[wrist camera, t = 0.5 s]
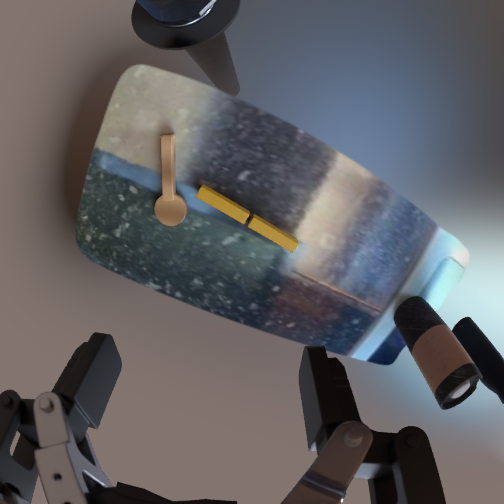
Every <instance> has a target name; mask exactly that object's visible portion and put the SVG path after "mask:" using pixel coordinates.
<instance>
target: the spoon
mask: <svg viewBox="0 0 504 504" xmlns="http://www.w3.org/2000/svg"><path fill="white" fill-rule="evenodd" d="M161 168H162V192H163V195H162V196H160V197H159V198H158V199H157V201H156V203H155V207H154V210H155V215H156V217H157V218H158V220H159V221H160V222H161V223H163V224H165V225H168V226H174V225H177V224H179V223H181V222H182V221H183V219H184V218H185V217H186V214H187V210H188V208H187V203H186V201H185V199H184V198H183V197H182V196H181V195H179V194H177V193H176V179H175V135H161Z"/></svg>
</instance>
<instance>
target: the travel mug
mask: <svg viewBox="0 0 504 504" xmlns="http://www.w3.org/2000/svg"><path fill="white" fill-rule="evenodd" d="M394 322H395V324H396V326H397V328H398V330H399V332H400V334H401V336H402V337H403V339H404V341H405V343H406V345H407V347H408V348H409V351H410V352H411V354H412V356H413V358H414V360H415V362H416V363H417V365H418V367H419V369H420V370H421V372H422V374H423V376H424V378H425V379H426V381H427V383H428V385H429V387H430V389H431V390H432V392H433V394H434V396H435V398H436V400H437V402H438V404H439V406H440V407H441V409H443V410H445V409H450V408H452V407H454V406H456V405H458V404H460V403H461V402H463V401H464V400H465V399H467V398H468V397H469V396H470V395H471V394H472V393H473V392H474V391H475V389H476V385H477V382H478V381H479V379H480V378H482V375H481V373H480V371H479V370H478V368H477V367H476V365H475V364H474V362H473V361H472V359H471V358H470V356H469V355H468V353H467V352H466V351H465V349H464V348H463V346H462V345H461V343H460V342H459V341H458V339H457V338H456V337H455V335H454V334H453V332H452V331H451V330H450V328H449V327H448V326H447V325H446V323H445V322H444V321H443V320H442V319H441V318H440V317H439V315H438V314H437V313H436V312H435V311H434V310H433V308H432V307H431V306H430V305H429V304H428V303H427V302H426V301H425V300H424V299H423V298H422V297H418V296H416V297H412V298H409V299H407V300H406V301H404V302H403V303H402V304H401V305H400V306H399V308H398V309H397V311H396V313H395V316H394Z"/></svg>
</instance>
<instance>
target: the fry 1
mask: <svg viewBox="0 0 504 504" xmlns="http://www.w3.org/2000/svg"><path fill="white" fill-rule="evenodd" d="M196 197H197V198H199V199H201V200H202V201H204V202H206V203H208V204H209V205H211V206H213V207H215V208H216V209H218V210H220V211H222V212H223V213H225V214H227V215H229V216H230V217H232V218H234V219H236V220H237V221H239V222H241V223H242V224H244V223H245V221H246V220H247V218H248V216H249V215H250V211H248V210H247V209H245V208H243V207H241V206H240V205H238V204H236V203H235V202H233V201H231V200H229V199H228V198H226V197H224V196H223V195H221V194H219V193H217V192H216V191H214V190H212V189H210V188H209V187H207V186H205V185H202V186H201V188H200V189H199V191H198V193H197V195H196Z"/></svg>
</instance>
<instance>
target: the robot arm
mask: <svg viewBox="0 0 504 504" xmlns="http://www.w3.org/2000/svg"><path fill="white" fill-rule="evenodd" d="M136 1H137V2H138V3H139V4H140V5H141V6H142V7H143V8H144V9H145V10H146V11H147V12H148V13H149V14H150V15H151V16H152V17H153V19H154V20H155V21H156V22H157V23H158V24H160V25H162V26H164V27H167V28H184V27H188V26H191V25H194V24H196V23H198V22H200V21H201V20H203V19H204V18H205V17H207V16H208V15H209V14H210V12H211V11H212V10H213V8H214V6H215V3H216V0H136ZM121 366H122V362H121V358H120V355H119V353H118V350H117V348H116V345H115V342H114V340H113V337H112V336H111V335H110V334H103V333H97V332H95V333H93V335H92V336H91V338H90V339H89V341H88V342H84V343H83V344H82V345H81V346H79V347H78V348H77V349H76V350H75V352H74V354H73V355H72V357H71V359H70V360H69V362H68V364H67V366H66V367H65V369H64V370H63V372H62V374H61V376H60V377H59V379H58V381H57V383H56V384H55V386H54V388H53V390H52V391H51V392H44V393H42V394H40V395H39V396H38V397H37V398H36V399H21V398H20V396H19V395H18V394H17V392H15V391H13V390H6V391H4V392H2V393H1V394H0V504H31V501H32V496H33V492H34V489H35V485H36V481H37V478H38V474H39V476H40V480H41V483H42V487H43V490H44V493H45V496H46V499H47V502H48V504H237V501H224V500H223V501H222V500H210V499H201V500H190V501H171V500H168V499H166V498H163V497H161V496H159V495H157V494H154V493H152V492H150V491H148V490H146V489H143V488H139V487H135V486H131V485H127V484H124V483H120V482H117V486H116V487H113V486H112V484H111V483H110V481H109V479H108V478H107V476H106V475H105V474H104V472H103V471H102V469H101V467H100V465H99V463H98V460H97V458H96V455H95V453H94V450H93V447H92V444H91V442H90V439H89V436H88V434H87V432H86V431H87V429H88V427H91V428H94V429H98V427H99V424H100V421H101V419H102V416H103V413H104V411H105V408H106V406H107V403H108V401H109V398H110V396H111V393H112V391H113V388H114V386H115V384H116V381H117V379H118V377H119V374H120V372H121ZM299 386H300V393H301V400H302V406H303V413H304V420H305V427H306V434H307V441H308V448H309V451H312V450H317V455H318V457H317V458H316V459H315V461H314V463H313V464H312V465H311V466H310V468H309V469H308V471H307V472H306V473H305V474H304V475H303V477H302V478H301V480H300V481H299V482H298V483H297V484H296V486H295V487H294V488H293V489H292V491H291V492H290V493H289V494H288V495H287V497H286V498H285V499H284V500H283V501H282V503H281V504H341V502H342V501H343V499H344V497H345V495H346V490H347V488H348V486H349V484H350V483H351V481H352V479H353V478H354V477H355V478H366V479H368V484H369V491H370V499H371V504H446V501H445V497H444V492H443V488H442V484H441V480H440V477H439V473H438V469H437V466H436V462H435V459H434V456H433V452H432V449H431V446H430V443H429V440H428V437H427V435H426V433H425V432H424V431H423V430H422V429H420V428H418V427H415V426H408V427H405V428H402V429H401V430H400V431H399V432H398V433H386V432H377V431H374V430H371V429H369V427H368V426H366V425H365V424H364V423H363V422H362V421H361V419H360V416H359V413H358V410H357V406H356V403H355V399H354V396H353V393H352V390H351V387H350V383H349V380H348V379H347V374H346V371H345V368H344V366H343V365H342V363H341V362H340V361H339V360H338V359H337V358H336V357H335V358H328V357H327V353H326V350H325V347H324V346H323V345H322V346H305V348H304V351H303V356H302V361H301V365H300V370H299ZM16 431H18V432H19V433H20V434H21V435H20V437H19V440H18V442H17V445H16V447H15V450H14V453H13V456H11V455H10V447H11V444H12V441H13V439H14V436H15V434H16Z"/></svg>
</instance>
